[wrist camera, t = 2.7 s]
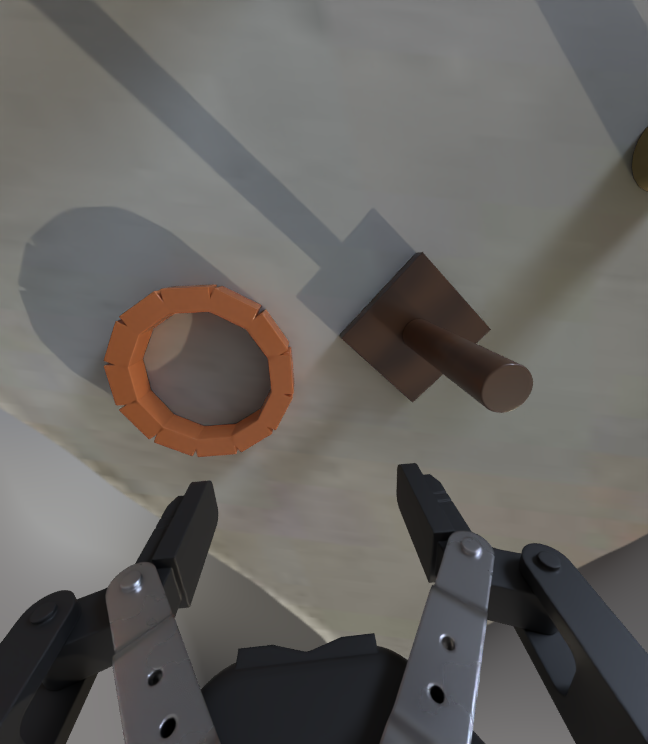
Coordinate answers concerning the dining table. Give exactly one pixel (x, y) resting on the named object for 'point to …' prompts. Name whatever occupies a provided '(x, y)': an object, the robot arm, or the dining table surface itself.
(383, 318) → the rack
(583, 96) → the dining table surface
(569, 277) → the dining table surface
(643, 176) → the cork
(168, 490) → the dining table surface
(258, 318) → the hoop
